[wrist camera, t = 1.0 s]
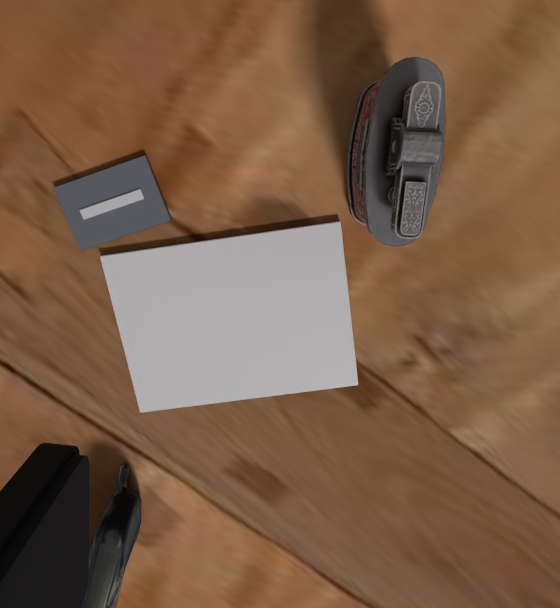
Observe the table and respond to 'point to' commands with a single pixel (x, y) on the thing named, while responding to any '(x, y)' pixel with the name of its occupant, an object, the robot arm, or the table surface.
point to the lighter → (397, 151)
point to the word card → (113, 203)
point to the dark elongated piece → (112, 545)
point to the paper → (234, 317)
